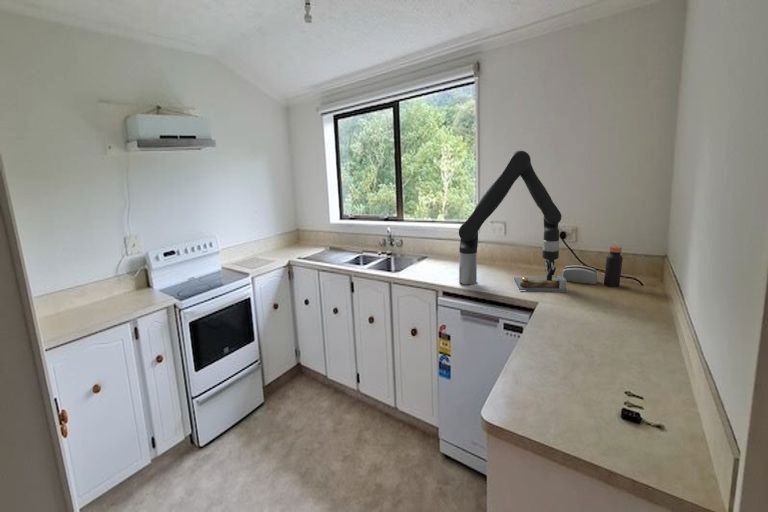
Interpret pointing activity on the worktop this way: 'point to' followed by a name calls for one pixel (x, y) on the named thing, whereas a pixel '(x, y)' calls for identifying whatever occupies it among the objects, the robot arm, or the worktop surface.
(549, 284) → the link
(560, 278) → the keeper
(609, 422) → the worktop surface
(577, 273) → the grey napkin holder
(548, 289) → the board
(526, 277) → the pintle
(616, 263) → the bottle
